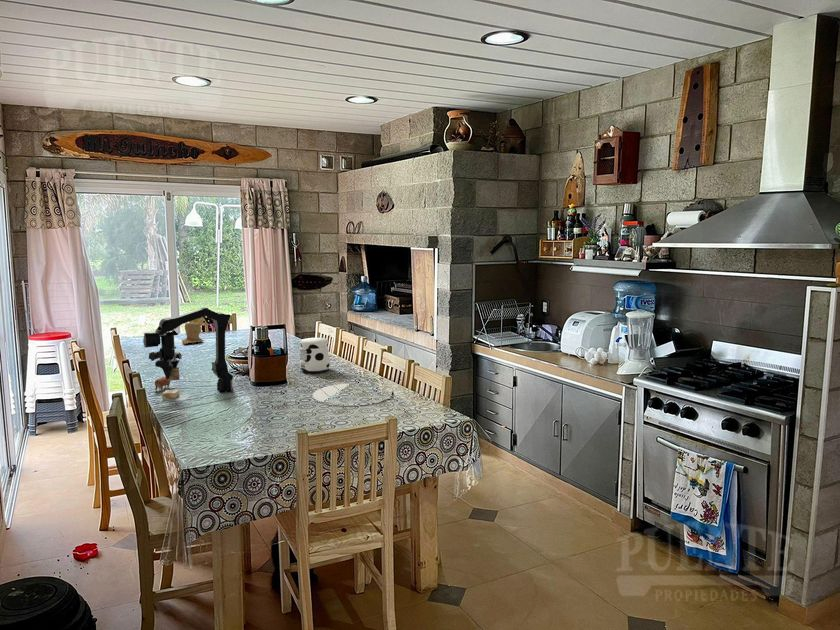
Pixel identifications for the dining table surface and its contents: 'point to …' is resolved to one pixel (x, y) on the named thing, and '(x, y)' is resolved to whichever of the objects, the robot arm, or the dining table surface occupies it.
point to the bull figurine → (162, 383)
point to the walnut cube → (174, 374)
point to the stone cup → (192, 333)
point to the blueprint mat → (181, 397)
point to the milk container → (314, 355)
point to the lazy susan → (332, 391)
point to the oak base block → (170, 394)
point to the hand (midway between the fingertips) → (169, 377)
